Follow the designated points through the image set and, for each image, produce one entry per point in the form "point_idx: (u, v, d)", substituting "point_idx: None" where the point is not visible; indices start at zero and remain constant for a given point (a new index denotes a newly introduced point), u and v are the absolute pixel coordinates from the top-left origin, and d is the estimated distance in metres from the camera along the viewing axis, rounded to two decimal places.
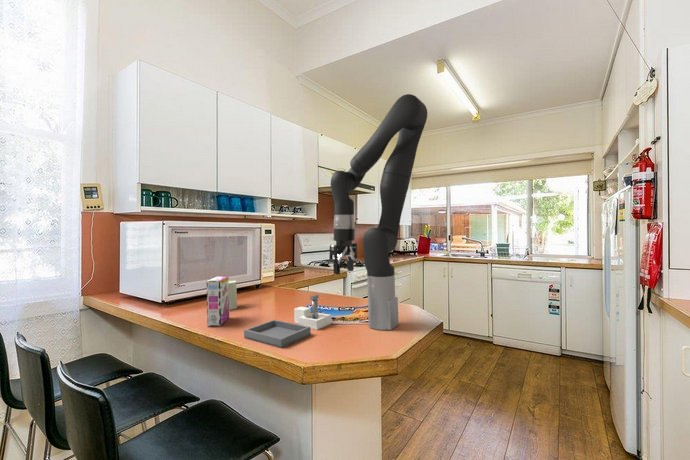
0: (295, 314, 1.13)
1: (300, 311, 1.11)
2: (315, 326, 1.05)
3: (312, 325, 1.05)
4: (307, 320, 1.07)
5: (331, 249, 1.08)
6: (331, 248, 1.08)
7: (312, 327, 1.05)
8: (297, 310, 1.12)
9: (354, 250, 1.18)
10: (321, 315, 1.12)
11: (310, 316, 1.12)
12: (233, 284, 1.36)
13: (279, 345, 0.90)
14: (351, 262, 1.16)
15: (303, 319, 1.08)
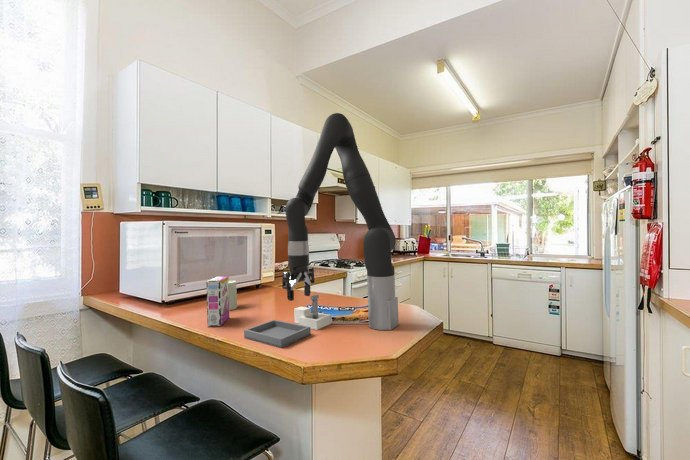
0: (295, 314, 1.13)
1: (300, 311, 1.11)
2: (315, 326, 1.05)
3: (312, 325, 1.05)
4: (307, 320, 1.07)
5: (284, 276, 1.09)
6: (284, 275, 1.09)
7: (312, 327, 1.05)
8: (297, 310, 1.12)
9: (311, 275, 1.18)
10: (321, 315, 1.12)
11: (310, 316, 1.12)
12: (233, 284, 1.36)
13: (279, 345, 0.90)
14: (307, 287, 1.17)
15: (303, 319, 1.08)
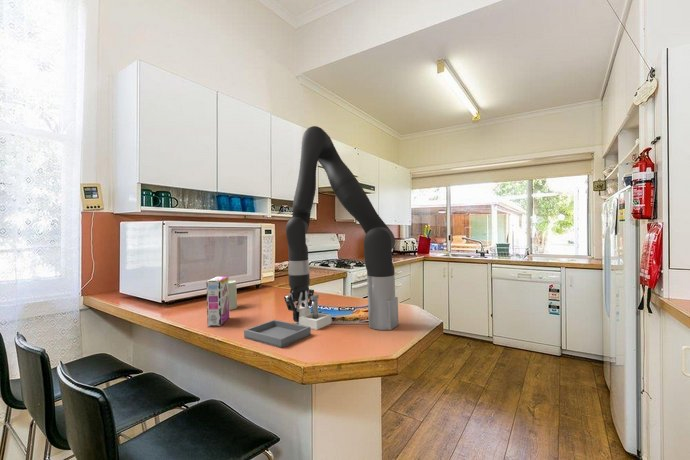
0: None
1: (300, 311, 1.11)
2: (315, 326, 1.05)
3: (312, 325, 1.05)
4: (307, 320, 1.07)
5: (286, 300, 1.09)
6: (286, 300, 1.09)
7: (312, 327, 1.05)
8: None
9: (309, 296, 1.17)
10: (321, 315, 1.12)
11: (310, 316, 1.12)
12: (233, 284, 1.36)
13: (279, 345, 0.90)
14: None
15: (303, 319, 1.08)
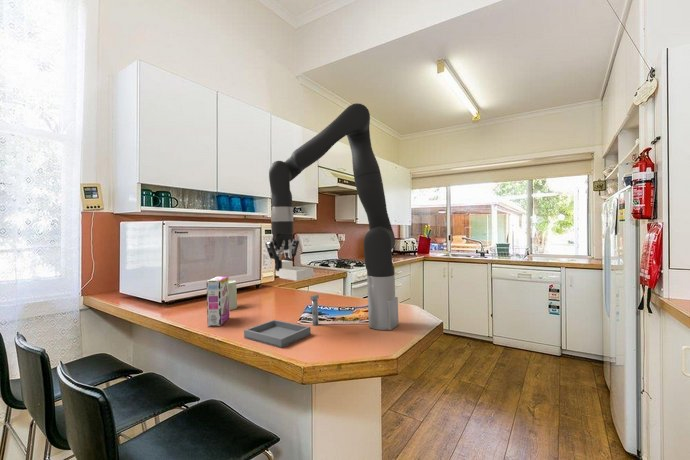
0: None
1: None
2: (295, 277, 1.00)
3: (291, 276, 1.01)
4: (287, 271, 1.02)
5: (267, 247, 1.04)
6: (267, 246, 1.04)
7: (292, 278, 1.01)
8: None
9: (294, 247, 1.12)
10: (303, 268, 1.07)
11: (292, 269, 1.07)
12: (233, 284, 1.36)
13: (279, 345, 0.90)
14: (288, 260, 1.10)
15: (283, 270, 1.03)
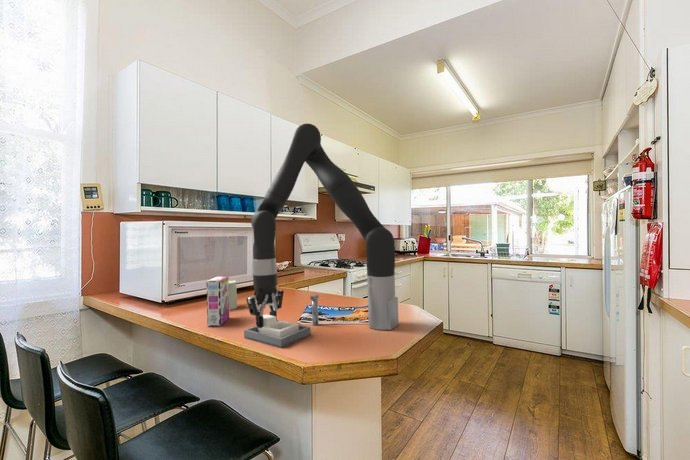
0: None
1: (264, 320, 1.00)
2: None
3: (275, 336, 0.94)
4: (270, 330, 0.95)
5: (248, 303, 0.97)
6: (248, 302, 0.97)
7: None
8: None
9: (279, 298, 1.06)
10: (287, 324, 1.00)
11: (275, 325, 1.01)
12: (233, 284, 1.36)
13: (279, 345, 0.90)
14: (273, 313, 1.03)
15: (266, 329, 0.96)
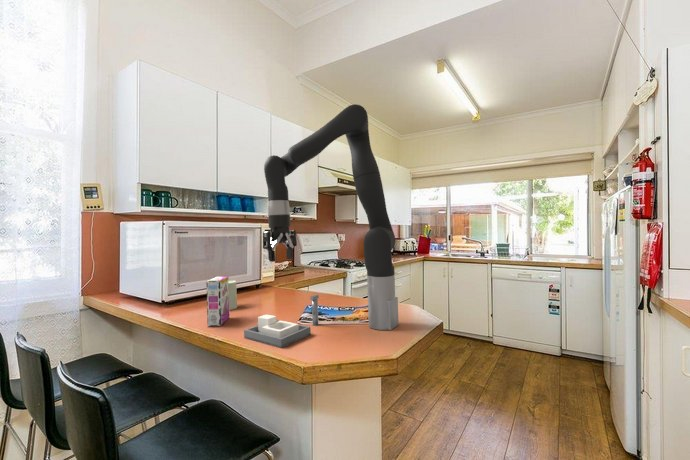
0: (259, 323, 1.01)
1: (264, 320, 1.00)
2: None
3: (275, 336, 0.94)
4: (270, 330, 0.95)
5: (264, 236, 1.05)
6: (264, 235, 1.05)
7: None
8: (261, 319, 1.01)
9: (293, 238, 1.15)
10: (287, 324, 1.00)
11: (275, 325, 1.01)
12: (233, 284, 1.36)
13: (279, 345, 0.90)
14: (289, 250, 1.13)
15: (266, 329, 0.96)
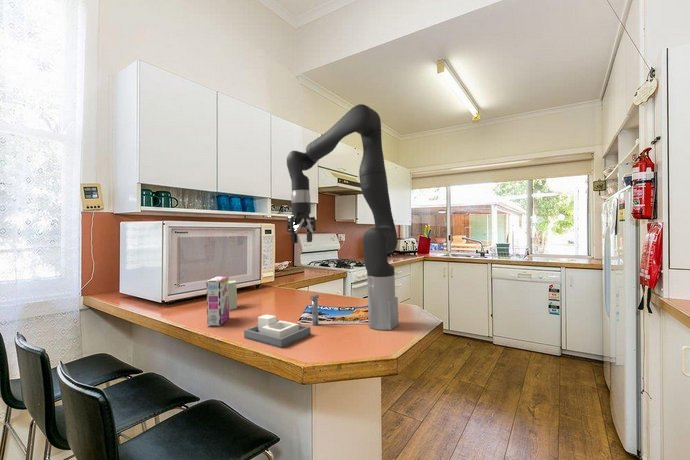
0: (259, 323, 1.01)
1: (264, 320, 1.00)
2: None
3: (275, 336, 0.94)
4: (270, 330, 0.95)
5: (288, 220, 1.20)
6: (288, 219, 1.20)
7: None
8: (261, 319, 1.01)
9: (312, 223, 1.30)
10: (287, 324, 1.00)
11: (275, 325, 1.01)
12: (233, 284, 1.36)
13: (279, 345, 0.90)
14: (309, 234, 1.29)
15: (266, 329, 0.96)
